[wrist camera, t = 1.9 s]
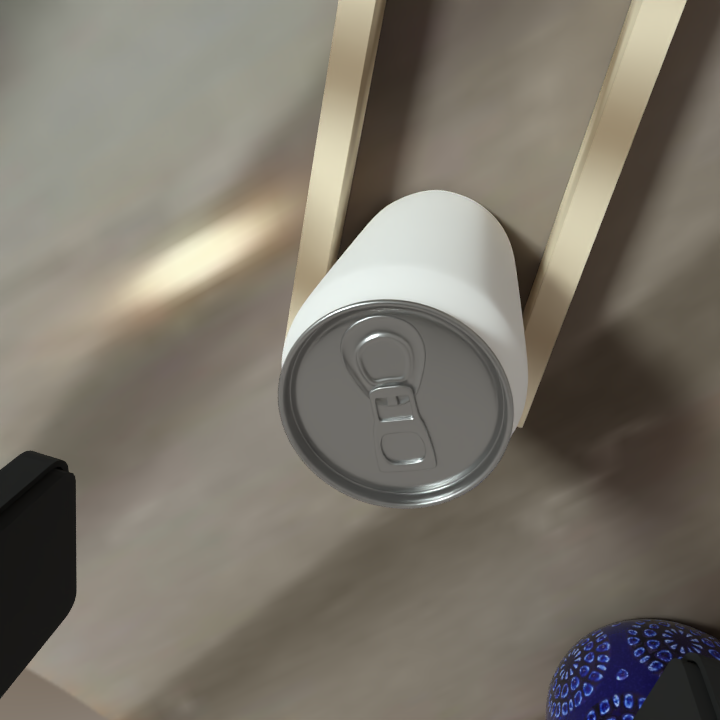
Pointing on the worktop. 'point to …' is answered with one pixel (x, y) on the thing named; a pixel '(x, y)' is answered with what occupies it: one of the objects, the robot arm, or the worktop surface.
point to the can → (409, 356)
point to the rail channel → (583, 193)
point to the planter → (620, 668)
